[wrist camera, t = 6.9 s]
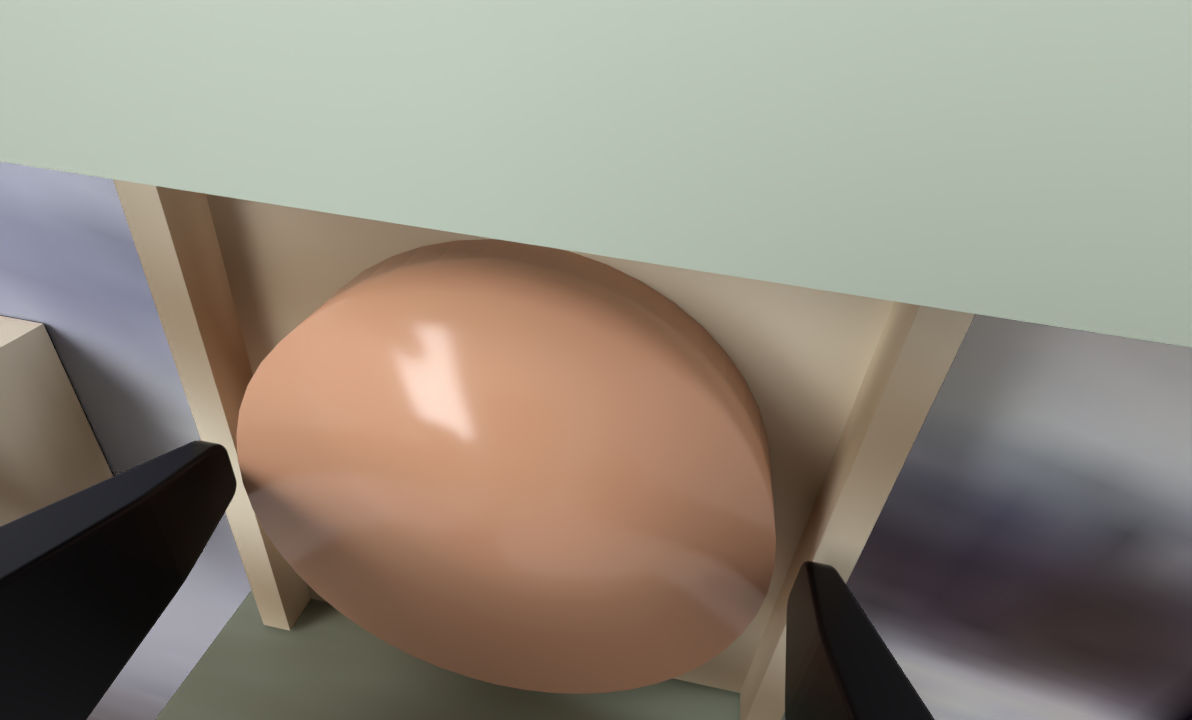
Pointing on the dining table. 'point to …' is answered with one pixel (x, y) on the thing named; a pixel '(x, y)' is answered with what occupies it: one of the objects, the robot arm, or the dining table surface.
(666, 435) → the peach oval block
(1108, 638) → the dining table surface
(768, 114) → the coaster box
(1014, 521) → the dining table surface
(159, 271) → the wooden drawer
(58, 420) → the maple block
